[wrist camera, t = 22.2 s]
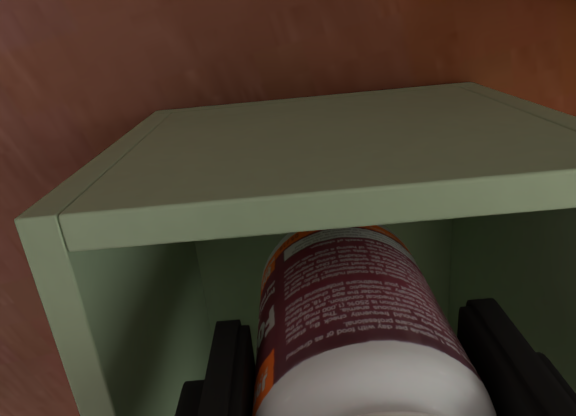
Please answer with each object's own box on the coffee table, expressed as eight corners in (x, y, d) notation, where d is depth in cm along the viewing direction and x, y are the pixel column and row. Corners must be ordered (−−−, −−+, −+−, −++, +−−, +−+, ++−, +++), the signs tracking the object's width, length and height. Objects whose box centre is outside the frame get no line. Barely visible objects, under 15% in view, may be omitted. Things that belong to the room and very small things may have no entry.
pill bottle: (239, 237, 14) (186, 519, 6) (396, 191, 13) (556, 432, 6) (288, 359, 16) (294, 699, 8) (427, 322, 15) (584, 645, 7)
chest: (155, 110, 19) (12, 219, 9) (472, 81, 18) (704, 157, 8) (210, 392, 24) (162, 659, 14) (454, 372, 24) (581, 628, 14)
